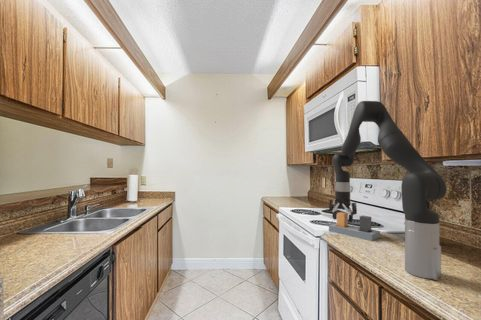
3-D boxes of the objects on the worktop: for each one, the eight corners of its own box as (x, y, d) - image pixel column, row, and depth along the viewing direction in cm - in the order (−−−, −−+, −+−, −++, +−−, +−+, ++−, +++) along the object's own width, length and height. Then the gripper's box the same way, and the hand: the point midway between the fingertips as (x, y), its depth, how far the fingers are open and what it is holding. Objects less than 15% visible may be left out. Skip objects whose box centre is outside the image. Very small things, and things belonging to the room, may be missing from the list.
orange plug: (347, 231, 132) (347, 213, 132) (344, 232, 129) (344, 213, 129) (340, 230, 135) (340, 211, 135) (337, 231, 132) (337, 212, 132)
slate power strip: (380, 237, 122) (380, 217, 122) (371, 240, 116) (371, 219, 116) (338, 228, 139) (338, 210, 139) (328, 230, 132) (329, 212, 133)
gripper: (326, 189, 135) (326, 219, 135) (352, 192, 125) (352, 224, 124) (333, 189, 140) (333, 217, 140) (359, 191, 129) (358, 222, 129)
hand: (342, 220), depth 132 cm, fingers open, 8 cm apart
